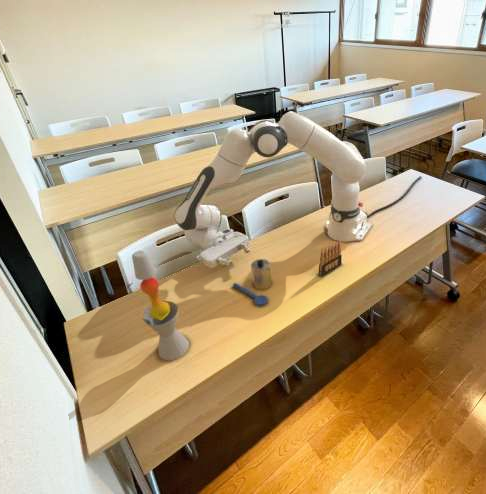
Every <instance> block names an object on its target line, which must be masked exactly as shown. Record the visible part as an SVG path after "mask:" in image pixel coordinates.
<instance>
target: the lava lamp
mask: <svg viewBox="0 0 486 494" xmlns="http://www.w3.org/2000/svg"><path fill="white" fill-rule="evenodd" d="M131 259H132V264H133V270H134V276H135V278H136V280H140V281H141V282H140V284H139V285H140V290H141V292H142V293H143V294H145V295H147V296H148V297H149V299H150V302H151V305H150V306H149V307H148V308H147V309H146V310H145V311H144V313H143V314H142V319H143V321H144V323H145V324H146V325H147V326H148V327H149V328H151V329H152V330H153V331H154V332H156V333H157V334H158V335H159V338H158V356H159V358H161V359H162V360H165V361H174V360H177V359H179V358H181V357H182V356H184V354H186V353H187V352H188V349H189V346H190V344H189V343H190V342H189V340H188V339H187V338H186V336H184V335H183V334H182V333H181V332H180V331H179V329H177V328H176V327H177V320H178V313H179V309H178V305H177V304H176V303H175V302H173V301H170V300H164V301H163V300H162V301H161V300H160V297H159V288H160V283H159V281H158V280H157V278H155V277H154V276H156V274H157V269H156V268H155V266H154V263H153V262H152V260H151V259H150V257H149V256H148V253H147V252H146V251H145V250H136V251H135V252H133V253H132V256H131Z"/></svg>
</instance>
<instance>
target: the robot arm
mask: <svg viewBox="0 0 486 494" xmlns="http://www.w3.org/2000/svg"><path fill="white" fill-rule="evenodd" d="M288 144H289V145H291V146H293V147H295V148H296V149H298V150H299V151H302V152H303V153H305V154H307V155H308V156H309V157H311V158H313V159H315V160H316V161H317V162H319V163H320V164H322V165H323V166H324V167H325V168H326V169H328V170H329V171H330V172H331V182H332V198H331V199H332V200H331V201H332V202H331V205H330V212H329V213H328V221H326V225H325V229H326V230H327V235H328V237H329V238H331V240H334V241H337V242H338V241H339V239H340V242H341V243H342V242H343V243H345V242H347V243H348V242H352V241H353V242H354V241H362V240H363V239H364V238H365V236H366V235H367V233H368V232H369V230H370V229H371V227H372V222H371V221H369V220H368V218H371V217H372V216H374V215H375V214H376V213H377V212H380V211H383V210H385V209H388V208H389V207H391V206H393V205H395V204H397V203H398V202H399V201H401V200H402V199H403V198H404V197H406V196H407V194H408V193H409V192H410V191H411V189H412V188H414V186H415V184H416V183H417V182H418V181H419V180H420V179H422V176H421V175H420V176H419V177H418V178H417V179H415V181H414V182H412V184H411V185H410V186H409V188H408V189H407V190H406V191H405V192H404V193H403V194H402V195H401V196H400V197H399V198H398V199H396V200H395V201H393V202H390V203H389V204H387V205H385V206H383V207H380V208H377V209H375V210H374V211H372V212H371V213H370V214H369V215H368V212H365V211H363V210H361V208H363V206H364V202H361V201H359V200H360V189H361V188H360V181H362V180H363V179H364V177H365V175H366V172H367V168H366V161H365V159H364V157H363V156H362V155H361V153H360V151H359V150H358V148H357V147H356V146H355V145H354V144H353V143H351V142H349V141H346V140H342V141H341V139H339V137H337V136H335V135H334V134H333V133H332V132H330V131H328V130H327V129H326V128H324V127H323V126H321V125H319V124H318V123H316V122H315V121H313V120H311V119H310V118H308V117H306V116H305V115H302V114H299V113H297V112H295V111H288V112H286V113H284V114H283V115H282V116H281V117H280V119H279V121H278V122H276V123H274V122H273V121H270V120H267V119H266V120H265V119H264V120H260V121H258V122H256V123H255V124H254V125H252V126H251V127H249V128H248V129H247V131H246V130H244V129H241V128H233V129H231V130H229V132H228V133H227V135H226V136H225V138H224V139H223V142H222V143H221V145H220V147H219V149H218V151H217V154H216V155H215V157H214V158H213V160H212V161H211V162H210V163H209V164H208V165H207V166H205V167H204V168H203V169H202V170H201V171H200V172H199V174H198V176H197V177H196V179H195V181H194V182H193V184H192V186H191V187H190V188H189V191H187V194H186V196H185V198H184V199H183V201H182V202H181V203H180V204H179V205H178V206H177V207H176V210H175V211H174V221H175V223H176V225H177V227H179V228H180V229H182V230H183V231H184V237H185V238H186V241H188V242H189V243H190V244H192V245H193V246H195V247H196V248H198V249H201V250H202V251H201V252H199V253H197V254H196V256H195V259H196V260H197V261H199V262H201V263H202V264H203V265H204V266H206V267H207V268H208V269H209V268H210V269H213V268H215V267H216V266H218V265H226V266H228V267H229V266H230V265H231V264H232V260H231V259H229V258H231V257H232V256H234V255H236V254H237V253H239V252H240V251H242V250H243V251H244V253H246V254H249V253H250V252H251V248H250V247H248V246H250V238H249V236H248V235H247V234H244V233H242V232H239V231H234V229H232V228H228V229H225V230H220V227H221V225H222V220H223V219H222V212H221V210H220V209H219V208H218V207H217V206H216V205H212V204H211V205H210V204H203V201H204V200H205V198H206V196H207V195H208V193H209V192H210V190H213V189H214V188H216V187H218V186H221V185H227V184H229V183H230V184H231V183H233V182H234V183H235V182H236V181H238V180H239V179H240V177H241V176H242V175H243V173H244V172H245V169H246V167H247V164H248V162H249V160H250V158H251V157H252V155H254V154H255V153H256V154H257V155H259V157H263V158H273V157H275V156H276V155H278V154H279V153H280V152H281V151H282V150H283V149H284V148H285V147H286V146H288ZM219 230H220V231H219Z"/></svg>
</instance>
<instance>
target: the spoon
mask: <svg viewBox="0 0 486 494" xmlns="http://www.w3.org/2000/svg"><path fill="white" fill-rule="evenodd" d="M232 286H233V287H234V288H236V289H238V290H239V291H240V292H242V293H244V294H246V295H247V296H249V297H250V298H252V299H253V300H254V301H253V303H254V304H255V305H256V306H258V307H263V306H265V305H267V304H268V297H267V296H266V295H263V294H260V295H257V294H256V293H254V292H252V291H250V290H248V289H247V288H245V287H243V286H242V285H240V284H238V283H237V282H233V285H232Z"/></svg>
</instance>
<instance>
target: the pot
mask: <svg viewBox="0 0 486 494" xmlns="http://www.w3.org/2000/svg"><path fill="white" fill-rule="evenodd" d="M270 266H271V263H270V261H269V260H267V259H265V258H258V259H255V260H253V261H252V262H251V264H250V268H251V272H252V279H253V286H254V288H255V289H257V290H266V289H268V288H269V287H270V286H271V285H272V280H271V278H272V277H271V269H270Z"/></svg>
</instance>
